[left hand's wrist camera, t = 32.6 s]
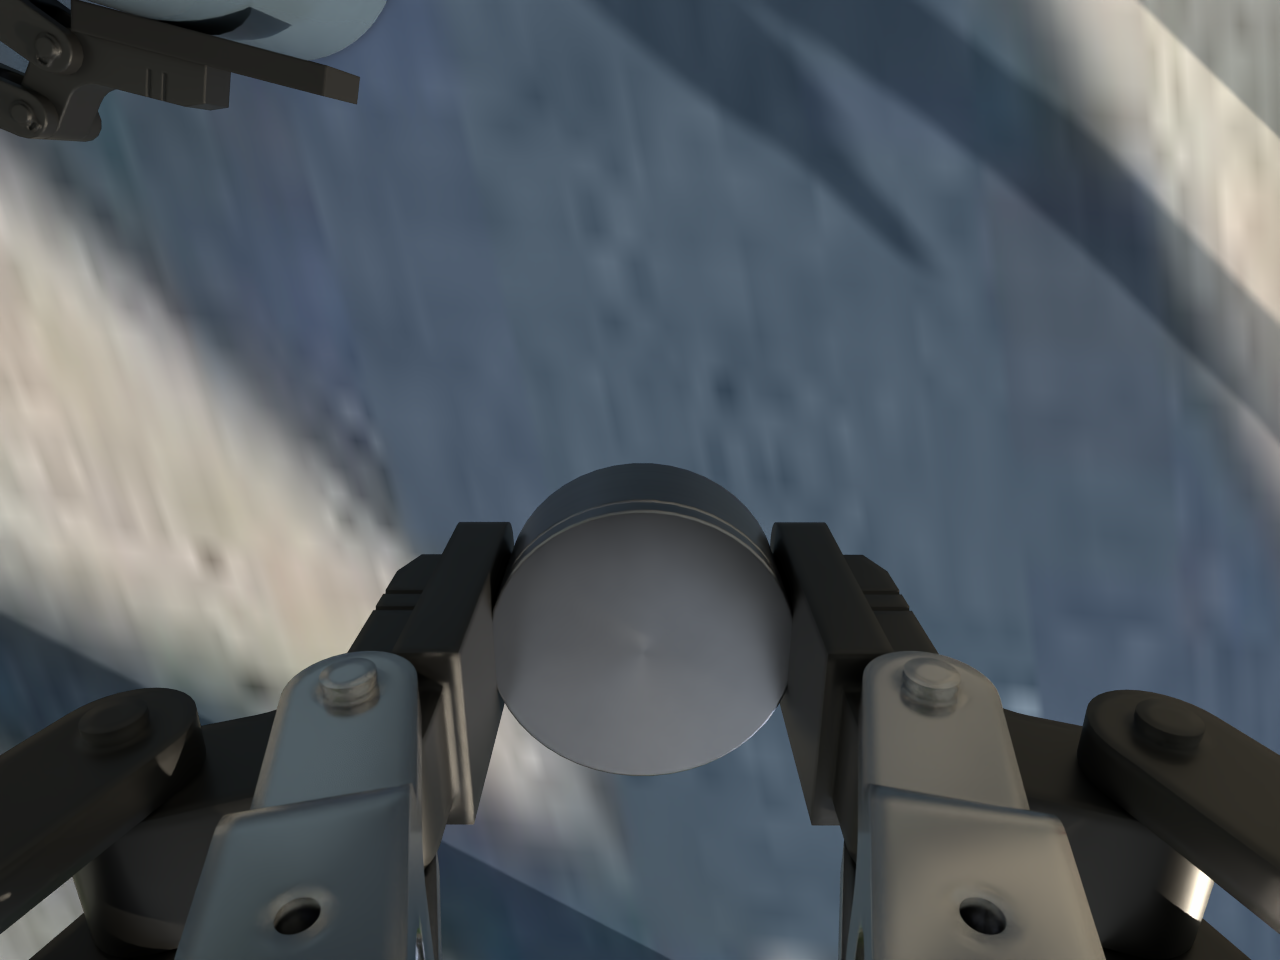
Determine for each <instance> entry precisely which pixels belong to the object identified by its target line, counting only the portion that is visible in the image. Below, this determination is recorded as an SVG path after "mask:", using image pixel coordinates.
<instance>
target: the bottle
mask: <svg viewBox="0 0 1280 960" xmlns="http://www.w3.org/2000/svg"><path fill="white" fill-rule="evenodd" d="M88 1H91V2H94V3H97V4H101V5H104V6H107V7H110V8H113V9H117V10H120V11H123V12H126V13H129V14H132V15H136V16H140V17H144V18H148V19H152V20H156V21H159V22H163V23H167V24H171V25H175V26H178V27H182V28H186V29H190V30H194V31H197V32H201V33H205V34H209V35H213V36H216V37H220V38H224V39H228V40H232V41H235V42H239V43H243V44H247V45H251V46H254V47H258V48H262V49H266V50H270V51H273V52H277V53H281V54H285V55H289V56H292V57H296V58H300V59H304V60H314V59H318V58H322V57H326V56H329V55H332V54H334V53H336V52H339V51H341V50H343V49H344V48H346V47H347V46H349V45H351V44H352V43H354V42H355V41H356V40H357V39H358V38H360V37H361V36H362V35H363V34H364V33H365V32H366V31H367V30H368V29H369V28H370V26H371V25H372V24H373V23H374V22H375V20H376V19H377V17H378V16H379V14H380V13H381V11H382V10H383V8H384V6H385V4H386V1H387V0H88Z"/></svg>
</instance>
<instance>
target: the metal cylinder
mask: <svg viewBox="0 0 1280 960" xmlns="http://www.w3.org/2000/svg"><path fill="white" fill-rule="evenodd" d="M792 617H793V615H792V608H791V605H790V602H789V599H788V597H787V594H786V591H785V588H784V585H783V582H782V579H781V576H780V573H779V571H778V568H777V565H776V562H775V559H774V556H773V553H772V551H771V548H770V545H769V543H768V540H767V538H766V535H765V534H764V532H763V530H762V528H761V527H760V525H759V523H758V521H757V520H756V519H755V518H754V516H753V515H752V514H751V512H750V511H749V510H748V509H747V507H746V506H745V505H743V504H742V503H741V502H740V501H739V500H738V499H737V498H736V497H735V496H734V495H733V494H731V493H730V492H729V491H727V490H726V489H725V488H723V487H722V486H720V485H719V484H717V483H715V482H713V481H711V480H710V479H708V478H706V477H704V476H701V475H699V474H696V473H694V472H691V471H689V470H685V469H681V468H677V467H673V466H669V465H661V464H653V463H632V464H624V465H616V466H611V467H607V468H603V469H599V470H596V471H593V472H591V473H588V474H585V475H583V476H580V477H578V478H576V479H575V480H573V481H571V482H569V483H567V484H565V485H564V486H562V487H561V488H560V489H558V490H557V491H556V492H554V493H553V494H551V495H550V496H549V497H548V498H547V499H546V500H545V501H544V502H543V503H542V504H541V505H540V506H539V507H537V509H536V510H535V511H534V512H533V514H532V515H531V516H530V518H529V519H528V520H527V522H526V523H525V525H524V527H523V528H522V530H521V532H520V534H519V535H518V538H517V540H516V543H515V545H514V548H513V550H512V553H511V556H510V559H509V562H508V565H507V568H506V571H505V574H504V577H503V580H502V583H501V586H500V589H499V592H498V595H497V598H496V601H495V604H494V607H493V611H492V624H493V637H494V651H495V664H496V678H497V688H498V690H499V693H500V695H501V697H502V698H503V700H504V702H505V704H506V706H507V707H508V709H509V710H510V712H511V713H512V714H513V716H514V717H515V718H516V720H517V721H518V722H519V723H520V724H521V725H522V726H523V727H524V728H525V729H526V730H527V732H528V733H529V734H530V735H531V736H533V737H534V738H535V739H537V740H538V741H539V742H540V743H542V744H543V745H544V746H545V747H547V748H549V749H550V750H552V751H554V752H555V753H557V754H558V755H560V756H562V757H564V758H566V759H568V760H571V761H573V762H575V763H577V764H580V765H583V766H586V767H589V768H592V769H595V770H599V771H603V772H608V773H613V774H621V775H630V776H654V775H663V774H672V773H676V772H681V771H685V770H690V769H693V768H696V767H699V766H702V765H705V764H707V763H709V762H712V761H714V760H716V759H718V758H720V757H722V756H724V755H726V754H727V753H729V752H731V751H732V750H734V749H736V748H737V747H739V746H740V745H741V744H743V743H744V742H745V741H747V740H748V739H749V738H750V737H752V736H753V735H754V734H755V733H756V732H757V731H758V730H759V729H760V728H761V727H762V726H763V725H764V724H765V723H766V721H767V720H768V719H769V717H770V716H771V715H772V714H773V712H774V711H775V710H776V708H777V706H778V705H779V703H780V701H781V699H782V697H783V696H784V694H785V692H786V689H787V684H788V671H789V658H790V645H791V632H792Z"/></svg>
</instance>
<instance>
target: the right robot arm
mask: <svg viewBox="0 0 1280 960" xmlns="http://www.w3.org/2000/svg"><path fill="white" fill-rule="evenodd" d="M0 41H1V42H3V43H4V44H6V45H7V46H8V47H10V48H11V49H13V50H14V51H16V52H17V53H18V54H20V55H21V56H23V57H24V58H25V59H27V60H28V61H29V64H28V67H27V70H26V72H25V73H23V72H20V71H18V70H16V69H13V68H11V67H9V66H6V65H4V64H2V63H0V128H1V129H4V130H6V131H8V132H11V133H13V134H15V135H18V136H20V137H25V138H31V139H48V140H65V141H82V142H86V141H91V140H94V139H95V138H96V137H97V136H98V135H99V133H100V131H101V118H100V116H99V113H98V109H99V107H100V104H101V102H102V100H103V98H104V96H105V95H107V94H108V93H109V92H110V91H113V90H115V89H118V90H122V91H126V92H130V93H134V94H138V95H142V96H146V97H150V98H154V99H158V100H161V101H166V102H169V103H173V104H177V105H181V106H185V107H191V108H198V109H205V110H216V109H222V108H229V92H230V75H231V72H233V73H236V74H240V75H244V76H248V77H252V78H256V79H260V80H263V81H267V82H271V83H275V84H279V85H283V86H286V87H290V88H294V89H298V90H302V91H306V92H310V93H313V94H317V95H321V96H325V97H329V98H333V99H337V100H341V101H345V102H349V103H353V104H357V99H358V90H359V81H360V77H358V76H355V75H352V74H350V73H347V72H344V71H341V70H338V69H335V68H332V67H330V66H327V65H323V64H319V63H315V62H311V61H308V60H304V59H300V58H296V57H292V56H289V55H285V54H281V53H277V52H273V51H270V50H266V49H262V48H258V47H254V46H251V45H247V44H243V43H239V42H235V41H232V40H228V39H224V38H220V37H216V36H213V35H209V34H205V33H201V32H197V31H194V30H190V29H186V28H182V27H178V26H175V25H171V24H167V23H163V22H159V21H156V20H152V19H148V18H144V17H140V16H136V15H132V14H129V13H125V12H122V11H118V10H114V9H110V8H106V7H103V6H99V5H95V4H91V3H87V2H84V1H80V0H71V10H70V9H68V8H67V7H66V6H64V5H63V4H62V3H60V2H59V1H57V0H0Z"/></svg>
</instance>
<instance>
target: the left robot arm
mask: <svg viewBox="0 0 1280 960" xmlns="http://www.w3.org/2000/svg"><path fill="white" fill-rule="evenodd" d="M513 548H514V540H513V531H512V526H511V524H510V522H459V523H458V525H457V526H456V528H455V530H454V532H453V534H452V536H451V538H450V540H449V542H448V544H447V546H446V548H445V549H444V551H443V553H442V554H422V555H420V556H419V557H417V558H416V559H414V560H413V561H411V562H410V563H408V564H407V565H405V566H404V567H402V568H401V569H399V570H398V571H397V572H396V574H395V576H394V577H393V579H392V581H391V582H390V584H389V585H388V587H387V589H386V594H383V595H382V597H381V599H380V600H379V602H378V603H377V605H376V610H373V612H372V613H371V615H370V617H369V618H368V620H367V621H366V623H365V625H364V626H363V628H362V630H361V631H360V633H359V635H358V636H357V638H356V640H355V641H354V643H353V644H352V646H351V648H350V649H349V651H348V653H345V654H341V655H337V656H333V657H330V658H327V659H325V660H322V661H320V662H317V663H315V664H313V665H311V666H309V667H308V668H306V669H304V670H302V671H301V672H300V673H298V674H297V675H296V676H294V677H293V678H292V679H291V680H290V681H289V682H288V684H287V685H286V686H285V688H284V689H283V691H282V694H281V696H280V700H279V704H278V707H277V710H274V711H271V712H267V713H263V714H259V715H254V716H249V717H244V718H239V719H234V720H229V721H224V722H219V723H214V724H209V725H203V726H201V725H200V721H199V716H198V712H197V708H196V704H195V702H194V700H193V699H192V698H191V697H190V696H189V695H187V694H185V693H184V692H181V691H178V690H174V689H168V688H144V689H137V690H130V691H126V692H121V693H117V694H114V695H110V696H107V697H104V698H101V699H99V700H96V701H93V702H91V703H89V704H87V705H84V706H82V707H80V708H78V709H76V710H74V711H73V712H71V713H69V714H67V715H66V716H64V717H62V718H61V719H59V720H57V721H56V722H54V723H52V724H51V725H49V726H48V727H46V728H44V729H43V730H41V731H39V732H38V733H36V734H35V735H33V736H31V737H30V738H28V739H26V740H25V741H23V742H21V743H20V744H18V745H17V746H15V747H13V748H12V749H10V750H8V751H7V752H5V753H4V754H2V755H0V934H1V933H2V932H4V931H5V930H6V929H7V928H9V927H10V926H11V925H12V924H14V923H15V922H16V921H17V920H19V919H20V918H21V917H22V916H24V915H25V914H26V913H27V912H29V911H30V910H31V909H32V908H34V907H35V906H36V905H37V904H38V903H40V902H41V901H42V900H43V899H45V898H46V897H47V896H48V895H50V894H51V893H52V892H53V891H55V890H56V889H57V888H58V887H60V886H61V885H62V884H63V883H65V882H66V881H67V880H68V879H70V878H71V877H73V880H74V883H75V886H76V889H77V892H78V896H79V899H80V902H81V905H82V908H83V911H84V913H83V914H82V915H81V916H80V917H78V918H77V919H76V920H75V921H74V922H73V923H71V924H70V925H69V926H68V927H67V928H66V929H64V930H63V931H62V932H61V933H60V934H59V935H57V936H56V937H55V938H54V939H53V940H51V941H50V942H49V943H48V944H47V945H46V946H44V947H43V948H42V949H41V950H40V951H39V952H37V953H36V954H35V955H34V956H33V957H32V958H30V959H29V960H442V944H441V908H440V872H439V864H438V855H437V851H438V848H439V846H440V843H441V839H442V836H443V833H444V829H445V826H446V824H474V821H475V818H476V814H477V810H478V806H479V802H480V798H481V794H482V790H483V786H484V782H485V778H486V774H487V770H488V766H489V762H490V759H491V755H492V751H493V747H494V743H495V739H496V735H497V731H498V727H499V723H500V719H501V715H502V711H503V707H504V704H505V702H504V700H503V698H502V697H501V695H500V693H499V690H498V688H497V678H496V664H495V651H494V637H493V624H492V611H493V607H494V604H495V601H496V598H497V595H498V592H499V589H500V586H501V583H502V580H503V577H504V574H505V571H506V568H507V565H508V562H509V559H510V556H511V553H512V550H513ZM770 548H771V551H772V553H773V556H774V559H775V562H776V565H777V568H778V571H779V573H780V576H781V579H782V582H783V585H784V588H785V591H786V594H787V597H788V599H789V602H790V605H791V608H792V615H793V617H792V632H791V645H790V658H789V671H788V684H787V689H786V692H785V694H784V696H783V697H782V699H781V701H780V706H781V710H782V714H783V718H784V721H785V725H786V729H787V733H788V737H789V741H790V744H791V748H792V752H793V756H794V760H795V763H796V767H797V771H798V775H799V779H800V782H801V786H802V790H803V794H804V798H805V801H806V805H807V809H808V813H809V817H810V821H811V824H812V825H840V827H841V830H842V834H843V837H844V846H843V855H842V864H841V872H840V908H839V944H838V960H1251V959H1250V958H1248V957H1247V956H1246V955H1245V954H1244V953H1243V952H1241V951H1240V950H1239V949H1238V948H1237V947H1236V946H1234V945H1233V944H1232V943H1231V942H1230V941H1229V940H1227V939H1226V938H1225V937H1224V936H1223V935H1222V934H1220V933H1219V932H1218V931H1217V930H1216V929H1214V928H1213V927H1212V926H1211V925H1210V924H1209V923H1207V922H1206V921H1205V920H1204V919H1203V915H1204V912H1205V909H1206V905H1207V902H1208V899H1209V896H1210V893H1211V890H1212V887H1213V884H1214V882H1215V883H1217V884H1218V885H1219V886H1220V887H1222V888H1223V889H1224V890H1225V891H1227V892H1228V893H1229V894H1230V895H1232V896H1233V897H1234V898H1235V899H1237V900H1238V901H1239V902H1240V903H1242V904H1243V905H1244V906H1245V907H1247V908H1248V909H1249V910H1250V911H1252V912H1253V913H1254V914H1255V915H1257V916H1258V917H1259V918H1260V919H1261V920H1263V921H1264V922H1265V923H1266V924H1268V925H1269V926H1270V927H1271V928H1273V929H1274V930H1275V931H1276V932H1278V933H1279V934H1280V755H1278V754H1277V753H1275V752H1273V751H1272V750H1270V749H1268V748H1267V747H1265V746H1263V745H1262V744H1260V743H1259V742H1257V741H1255V740H1254V739H1252V738H1250V737H1249V736H1247V735H1245V734H1244V733H1242V732H1241V731H1239V730H1237V729H1236V728H1234V727H1232V726H1231V725H1229V724H1228V723H1226V722H1224V721H1223V720H1221V719H1219V718H1218V717H1216V716H1214V715H1212V714H1211V713H1209V712H1207V711H1205V710H1203V709H1201V708H1199V707H1197V706H1195V705H1192V704H1190V703H1187V702H1184V701H1182V700H1179V699H1176V698H1173V697H1169V696H1166V695H1162V694H1157V693H1153V692H1146V691H1139V690H1115V691H1110V692H1105V693H1102V694H1100V695H1098V696H1096V697H1095V698H1093V699H1092V700H1091V701H1090V703H1089V704H1088V707H1087V710H1086V714H1085V719H1084V723H1083V726H1079V725H1073V724H1068V723H1063V722H1058V721H1053V720H1048V719H1043V718H1038V717H1033V716H1028V715H1024V714H1020V713H1016V712H1013V711H1010V710H1007V709H1004V708H1003V707H1002V704H1001V700H1000V696H999V694H998V691H997V689H996V688H995V686H994V685H993V684H992V682H991V681H990V680H989V679H988V678H987V677H986V676H984V675H983V674H982V673H980V672H979V671H978V670H976V669H974V668H972V667H971V666H969V665H967V664H965V663H963V662H960V661H958V660H955V659H953V658H950V657H947V656H943V655H939V654H938V652H937V651H936V649H935V647H934V646H933V644H932V643H931V641H930V639H929V638H928V636H927V634H926V633H925V631H924V630H923V628H922V626H921V625H920V623H919V622H918V620H917V618H916V617H915V615H914V614H913V612H912V611H909V605H908V604H907V602H906V601H905V599H904V597H903V596H902V595H899V589H898V588H897V586H896V585H895V583H894V581H893V580H892V578H891V577H890V575H889V573H888V572H887V571H886V570H884V569H883V568H881V567H880V566H878V565H877V564H875V563H874V562H873V561H871V560H870V559H868V558H867V557H865V556H864V555H843V554H842V552H841V550H840V548H839V547H838V545H837V543H836V541H835V539H834V537H833V535H832V533H831V532H830V530H829V528H828V526H827V524H826V523H824V522H775V523H774V525H773V528H772V533H771V542H770Z"/></svg>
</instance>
